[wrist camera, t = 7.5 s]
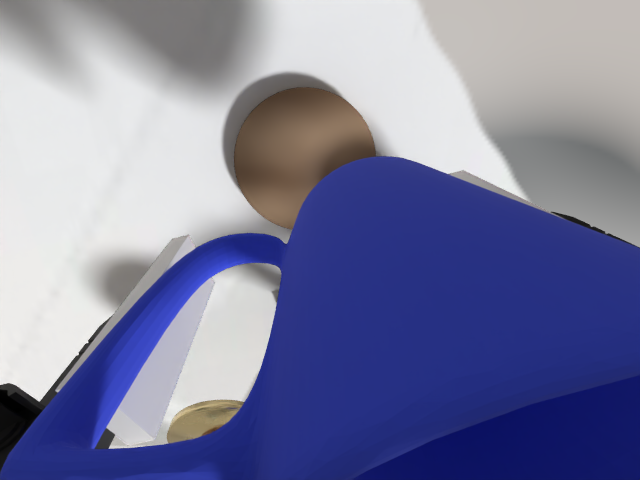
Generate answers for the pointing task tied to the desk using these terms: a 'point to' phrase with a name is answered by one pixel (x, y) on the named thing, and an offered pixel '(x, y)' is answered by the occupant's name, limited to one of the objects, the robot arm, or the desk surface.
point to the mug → (391, 347)
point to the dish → (296, 149)
